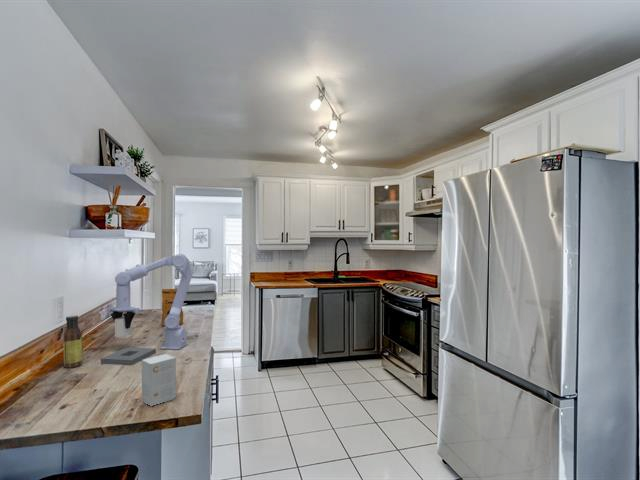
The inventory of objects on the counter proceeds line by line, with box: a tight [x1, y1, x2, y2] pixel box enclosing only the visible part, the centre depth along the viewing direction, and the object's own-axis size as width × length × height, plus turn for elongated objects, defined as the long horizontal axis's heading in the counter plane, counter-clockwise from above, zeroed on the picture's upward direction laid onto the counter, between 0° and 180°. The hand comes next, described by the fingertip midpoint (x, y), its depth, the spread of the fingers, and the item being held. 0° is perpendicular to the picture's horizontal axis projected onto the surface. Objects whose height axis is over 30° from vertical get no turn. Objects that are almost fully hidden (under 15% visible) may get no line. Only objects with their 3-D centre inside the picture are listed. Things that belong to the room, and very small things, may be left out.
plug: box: [114, 316, 132, 338], centre depth 163 cm, size 4×6×8 cm
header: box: [100, 346, 157, 366], centre depth 152 cm, size 14×16×2 cm
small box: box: [141, 353, 177, 407], centre depth 111 cm, size 8×6×13 cm
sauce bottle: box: [62, 314, 84, 369], centre depth 143 cm, size 6×6×20 cm
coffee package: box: [160, 287, 184, 327], centre depth 215 cm, size 10×12×22 cm
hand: (123, 328), depth 163 cm, fingers closed on plug, 4 cm apart
